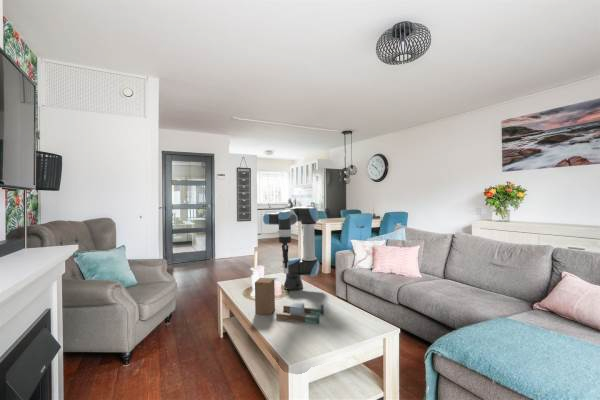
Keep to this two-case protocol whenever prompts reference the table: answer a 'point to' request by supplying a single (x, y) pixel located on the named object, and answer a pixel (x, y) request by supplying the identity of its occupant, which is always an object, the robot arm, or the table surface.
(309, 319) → the lane wall camera side
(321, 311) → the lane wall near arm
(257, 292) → the wooden block
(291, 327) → the table surface
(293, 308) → the slate block
